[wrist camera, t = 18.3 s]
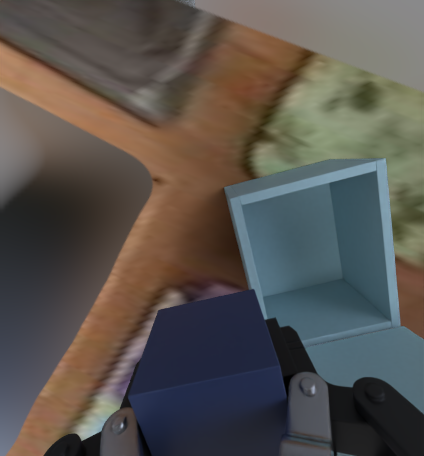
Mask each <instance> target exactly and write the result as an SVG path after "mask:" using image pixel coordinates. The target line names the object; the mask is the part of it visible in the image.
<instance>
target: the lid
mask: <svg viewBox="0 0 424 456" xmlns="http://www.w3.org/2000/svg"><path fill="white" fill-rule="evenodd" d="M305 349H306V351H307V353H308V355H309V357H310V359H311V361H312V363H313V365H314V368H315V370H316V372H317V373H318V375H319V376H320V377H322V378H323V379H324V380H325V381H326V382H328V383H330V384H333V385H337V386H345V387H353V384H354V382H355V381H356V380H358V379H360V378H363V377H374V378H378V379H381V380H383V381H385V382H387V383H388V384H390V385H391V386H392V387H393V388H395V389H396V390H397V391H398V392H399V393H400V394H401V395H403V396H404V397H405V398H406V399H407V400H408V401H409V402H411V403H412V404H413V405H414V406H415V407H416V408H417V409H419V410H420V411H421V412H422V413H423V414H424V339H422V338H421V337H419V336H418V335H416V334H415V333H413V332H412V331H410V330H409V329H407V328H406V327H404V326H401V327H397V328H392V329H388V330H383V331H379V332H374V333H369V334H365V335H360V336H356V337H351V338H347V339H342V340H337V341H333V342H328V343H324V344H319V345H315V346H310V347H305ZM338 456H354V455H349V454H344V453H338Z"/></svg>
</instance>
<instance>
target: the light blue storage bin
mask: <svg viewBox="0 0 424 456" xmlns="http://www.w3.org/2000/svg"><path fill="white" fill-rule="evenodd" d="M224 190H225V195H226V199H227V203H228V207H229V211H230V215H231V219H232V223H233V227H234V231H235V235H236V239H237V243H238V247H239V251H240V255H241V259H242V263H243V267H244V271H245V275H246V279H247V283H248V287H249V290H251V289H254V290H255V292H256V295H257V298H258V301H259V304H260V307H261V310H262V313H263V316H264V319H270V318H275V317H276V319H277V321H278V324H279V326H280V327H284V326H290V327H292V328H293V329H294V330H295V331H297V333H298V335H299V337H300V340H301V341H302V343H303V345H304V347H308V346H312V345H317V344H321V343H326V342H330V341H335V340H340V339H344V338H349V337H353V336H358V335H362V334H367V333H372V332H376V331H381V330H385V329H390V328H395V327H400V315H399V303H398V292H397V281H396V269H395V258H394V247H393V235H392V224H391V213H390V201H389V190H388V179H387V167H386V158H372V159H329V160H325V161H322V162H318V163H314V164H310V165H306V166H303V167H299V168H295V169H291V170H287V171H284V172H280V173H276V174H272V175H268V176H265V177H261V178H257V179H253V180H249V181H246V182H242V183H238V184H234V185H230V186H227V187H224Z"/></svg>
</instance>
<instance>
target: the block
mask: <svg viewBox="0 0 424 456" xmlns="http://www.w3.org/2000/svg"><path fill="white" fill-rule="evenodd" d="M128 399H129V402H130V404H131V406H132V409H133V411H134V414H135V416H136V419H137V421H138V423H139V426H140V428H141V431H142V433H143V436H144V438H145V440H146V443H147V445H148V448H149V450H150V453H151V455H152V456H279V448H280V440H281V436H282V434H285V431H286V419H287V407H288V400H287V395H286V391H285V386H284V382H283V377H282V372H281V368H280V364H279V361H278V358H277V355H276V352H275V349H274V346H273V343H272V340H271V337H270V334H269V331H268V328H267V325H266V322H265V319H264V316H263V313H262V310H261V307H260V304H259V301H258V298H257V295H256V292H255V290H254V289H251V290H246V291H242V292H237V293H233V294H228V295H224V296H219V297H215V298H210V299H206V300H201V301H197V302H192V303H188V304H183V305H179V306H174V307H170V308H165V309H161V310H158V313H157V316H156V318H155V321H154V324H153V327H152V330H151V332H150V335H149V338H148V341H147V344H146V346H145V349H144V352H143V355H142V358H141V360H140V363H139V366H138V369H137V372H136V374H135V377H134V380H133V383H132V386H131V388H130V391H129V394H128Z"/></svg>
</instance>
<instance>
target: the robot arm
mask: <svg viewBox="0 0 424 456" xmlns="http://www.w3.org/2000/svg"><path fill="white" fill-rule="evenodd" d="M265 322H266V325H267V328H268V331H269V334H270V337H271V340H272V343H273V346H274V349H275V352H276V355H277V358H278V361H279V364H280V368H281V372H282V377H283V382H284V386H285V391H286V395H287V400H288V407H287V419H286V431H285V434H282V436H281V440H280V448H279V456H338V453H344V454H349V455H354V456H424V414H423V413H422V412H421V411H420V410H419V409H417V408H416V407H415V406H414V405H413V404H412V403H411V402H409V401H408V400H407V399H406V398H405V397H404V396H403V395H401V394H400V393H399V392H398V391H397V390H396V389H395V388H393V387H392V386H391V385H390V384H388V383H387V382H385V381H383V380H381V379H378V378H374V377H363V378H360V379H358V380H356V381H355V382H354V384H353V387H345V386H337V385H333V384H330V383H328V382H326V381H325V380H324V379H323V378H322V377H320V376H319V375H318V373H317V372H316V370H315V368H314V365H313V363H312V361H311V359H310V357H309V355H308V353H307V351H306V349H305V347H304V345H303V343H302V341H301V340H300V337H299V335H298V333H297V331H295V330H294V329H293V328H292V327H290V326H284V327H280V326H279V324H278V321H277V319H276V317H275V318H270V319H265ZM140 360H141V359H140ZM140 360H139V362H138V363H137V364H136V367H135V369H134V372H133V375H132V377H131V380H130V383H129V385H128V388H127V391H126V394H125V396H124V399H123V402H122V404H121V407H120V410H118V411H116V412H115V413H113V414H112V415H111V416H110V417H109V418H108V419H107V421H106V422H105V424H104V426H103V428H102V431H101V432H99V433H97V434H95V435H93V436H91V437H89V438H87V439H85V440H83V441H81V439H80V437H79V436H78V435H77V434H68V435H66V436H64V437H62V438H60V439H59V440H57V441H56V442H55V443H54V444H53V445H52V446H51V447H50V448H49V449H48V450H47V452H46V453H45V454H44V456H152V455H151V453H150V450H149V448H148V445H147V443H146V440H145V438H144V436H143V433H142V431H141V428H140V426H139V423H138V421H137V419H136V416H135V414H134V411H133V409H132V406H131V404H130V402H129V399H128V394H129V391H130V388H131V386H132V383H133V380H134V377H135V374H136V372H137V369H138V366H139V363H140Z"/></svg>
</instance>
